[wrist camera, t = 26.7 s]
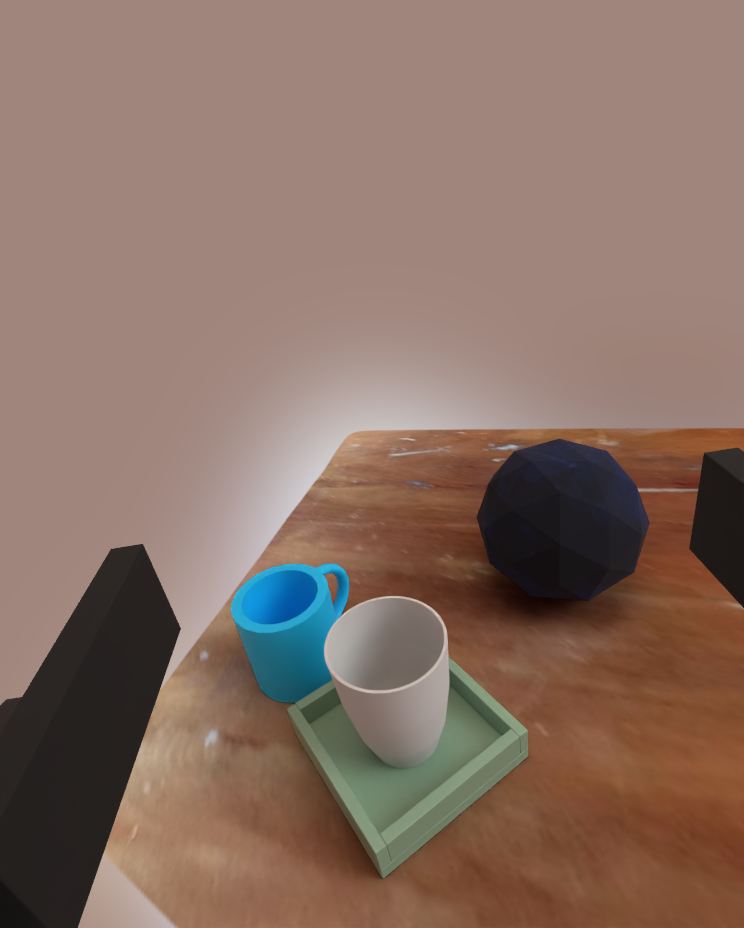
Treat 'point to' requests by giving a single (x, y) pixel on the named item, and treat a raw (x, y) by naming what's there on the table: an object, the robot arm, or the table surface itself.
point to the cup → (392, 676)
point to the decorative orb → (562, 520)
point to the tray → (410, 789)
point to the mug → (289, 626)
